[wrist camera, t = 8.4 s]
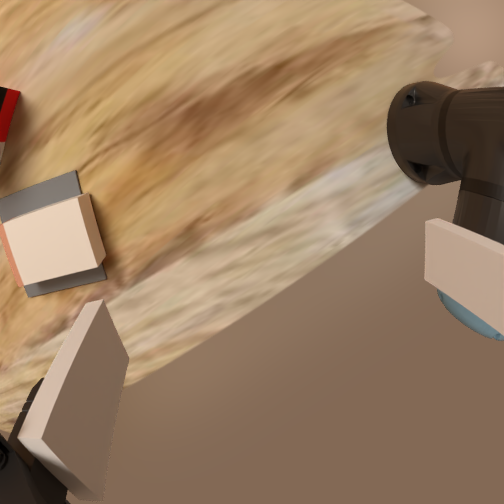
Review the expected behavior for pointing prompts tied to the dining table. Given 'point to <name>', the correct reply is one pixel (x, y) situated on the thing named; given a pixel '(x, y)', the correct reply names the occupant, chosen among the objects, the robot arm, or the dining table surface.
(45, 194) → the mat
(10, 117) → the puzzle toy
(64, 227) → the tall block
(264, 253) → the dining table surface
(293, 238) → the dining table surface
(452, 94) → the robot arm
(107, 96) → the dining table surface
